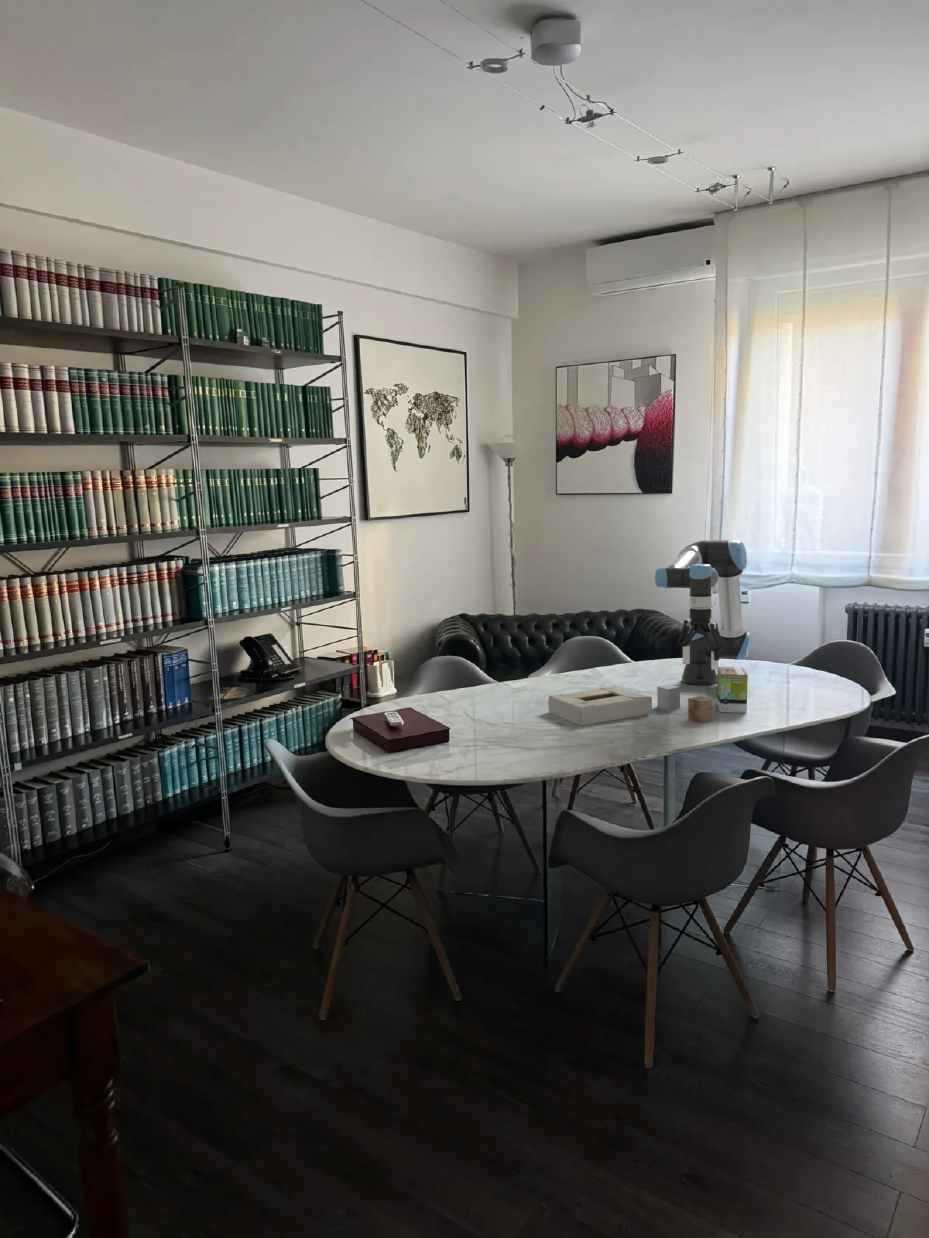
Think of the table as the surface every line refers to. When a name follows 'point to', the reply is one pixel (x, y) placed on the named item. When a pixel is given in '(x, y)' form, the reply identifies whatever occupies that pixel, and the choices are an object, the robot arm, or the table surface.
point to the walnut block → (700, 709)
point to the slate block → (668, 697)
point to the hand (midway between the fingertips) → (700, 666)
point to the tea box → (732, 689)
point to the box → (599, 705)
